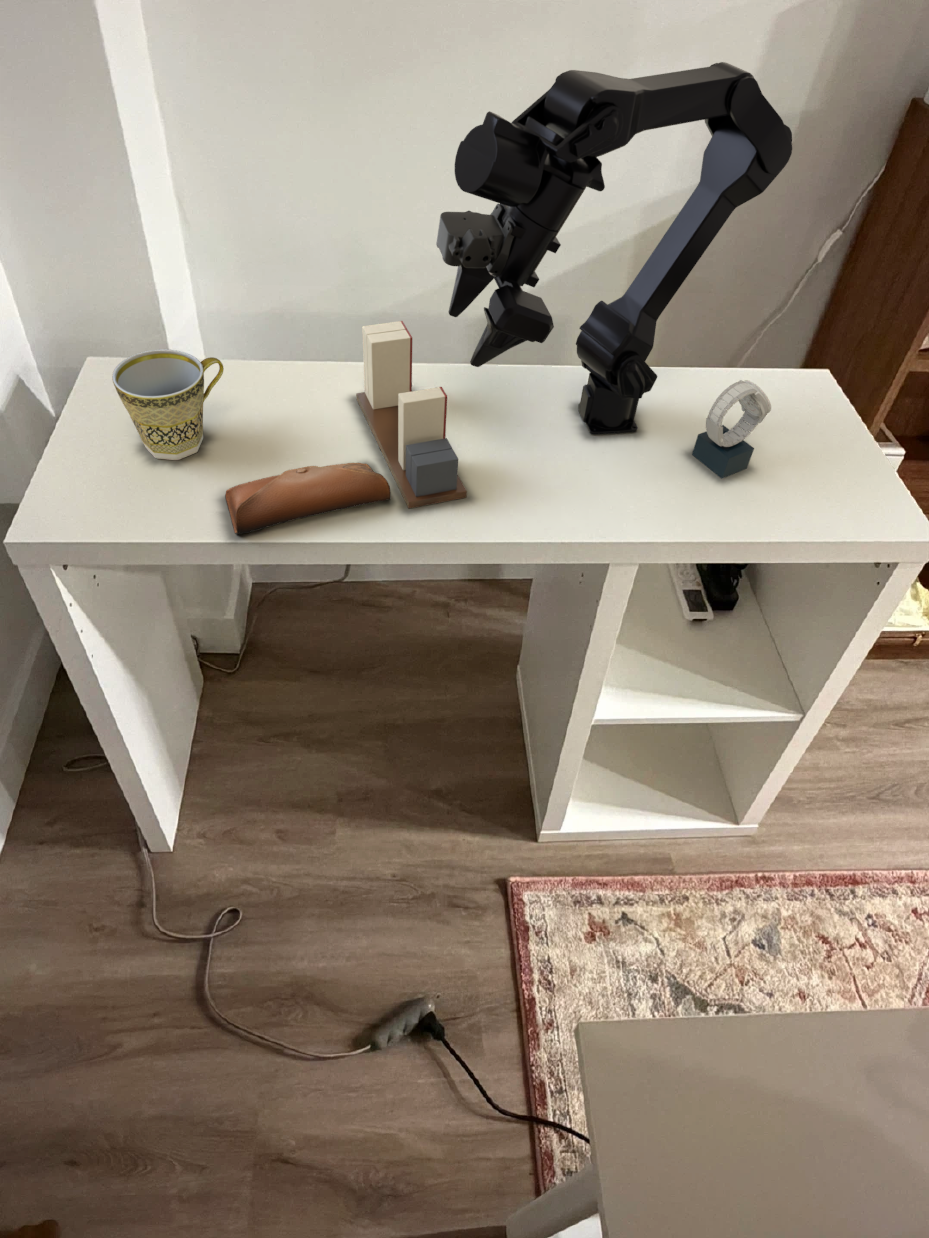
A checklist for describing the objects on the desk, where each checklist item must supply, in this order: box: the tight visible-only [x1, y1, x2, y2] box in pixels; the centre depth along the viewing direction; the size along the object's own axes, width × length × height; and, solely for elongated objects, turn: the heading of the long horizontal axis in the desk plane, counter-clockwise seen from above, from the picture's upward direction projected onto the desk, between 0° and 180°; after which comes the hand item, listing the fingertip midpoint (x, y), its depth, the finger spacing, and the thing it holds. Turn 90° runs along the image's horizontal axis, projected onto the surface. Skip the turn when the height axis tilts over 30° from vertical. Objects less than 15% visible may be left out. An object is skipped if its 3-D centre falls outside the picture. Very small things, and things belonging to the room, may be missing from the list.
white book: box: [398, 386, 448, 470], centre depth 101 cm, size 5×2×10 cm, turn 110°
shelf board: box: [355, 391, 468, 509], centre depth 107 cm, size 7×23×1 cm, turn 20°
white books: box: [361, 320, 413, 409], centre depth 109 cm, size 5×4×10 cm
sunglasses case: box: [224, 462, 392, 536], centre depth 98 cm, size 18×7×7 cm, turn 113°
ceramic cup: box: [111, 348, 224, 461], centre depth 102 cm, size 13×10×10 cm
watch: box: [691, 379, 772, 479], centre depth 105 cm, size 6×8×11 cm
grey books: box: [406, 437, 459, 497], centre depth 100 cm, size 5×4×4 cm
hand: (462, 339), depth 96 cm, fingers open, 9 cm apart
